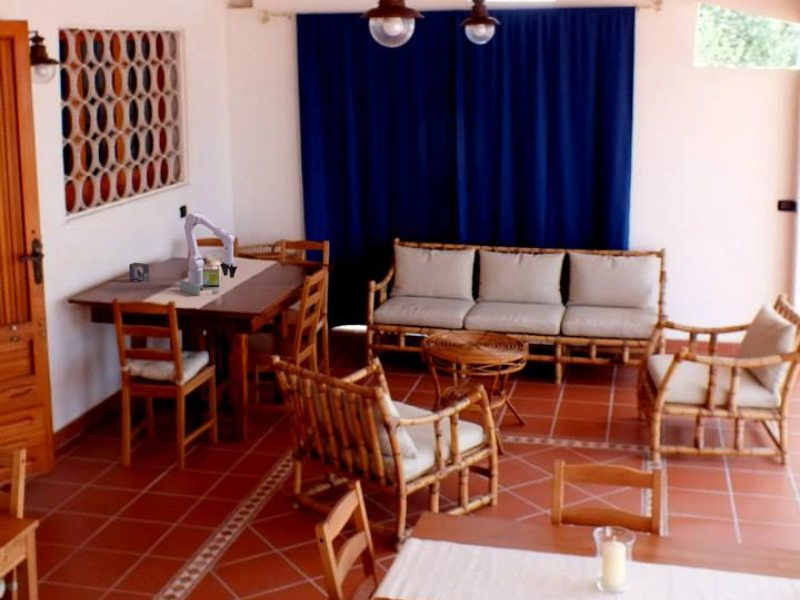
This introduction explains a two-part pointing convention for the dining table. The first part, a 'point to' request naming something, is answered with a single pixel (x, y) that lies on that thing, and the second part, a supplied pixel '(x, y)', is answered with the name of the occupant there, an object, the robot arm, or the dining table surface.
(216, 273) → the tea box
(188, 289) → the display bay
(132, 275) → the small box
